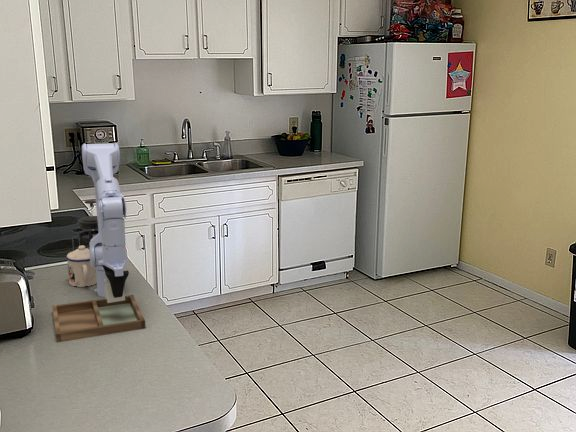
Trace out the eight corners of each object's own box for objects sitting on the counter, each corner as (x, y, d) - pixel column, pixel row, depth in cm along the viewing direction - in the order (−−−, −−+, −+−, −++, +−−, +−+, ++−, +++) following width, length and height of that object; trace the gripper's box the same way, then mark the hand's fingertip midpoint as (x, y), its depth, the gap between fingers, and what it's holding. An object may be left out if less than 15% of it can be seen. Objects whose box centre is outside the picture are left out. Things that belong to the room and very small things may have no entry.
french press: (109, 262, 198) (106, 196, 192) (115, 271, 190) (111, 202, 184) (73, 267, 193) (68, 199, 187) (77, 276, 185) (71, 205, 179)
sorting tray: (53, 316, 157) (52, 305, 156) (133, 304, 165) (132, 294, 165) (57, 345, 141) (56, 334, 141) (145, 331, 150) (145, 320, 149)
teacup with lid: (67, 279, 183) (64, 243, 180) (97, 275, 187) (95, 240, 184) (70, 293, 173) (67, 255, 170) (103, 288, 176) (100, 251, 173)
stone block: (105, 296, 155) (103, 279, 153) (122, 294, 156) (120, 276, 155) (107, 303, 151) (105, 284, 149) (125, 300, 152) (123, 282, 151)
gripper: (94, 237, 155) (97, 285, 158) (101, 253, 142) (104, 306, 145) (121, 234, 157) (124, 282, 161) (130, 250, 145) (133, 301, 148)
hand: (116, 293), depth 153 cm, fingers closed on stone block, 4 cm apart
